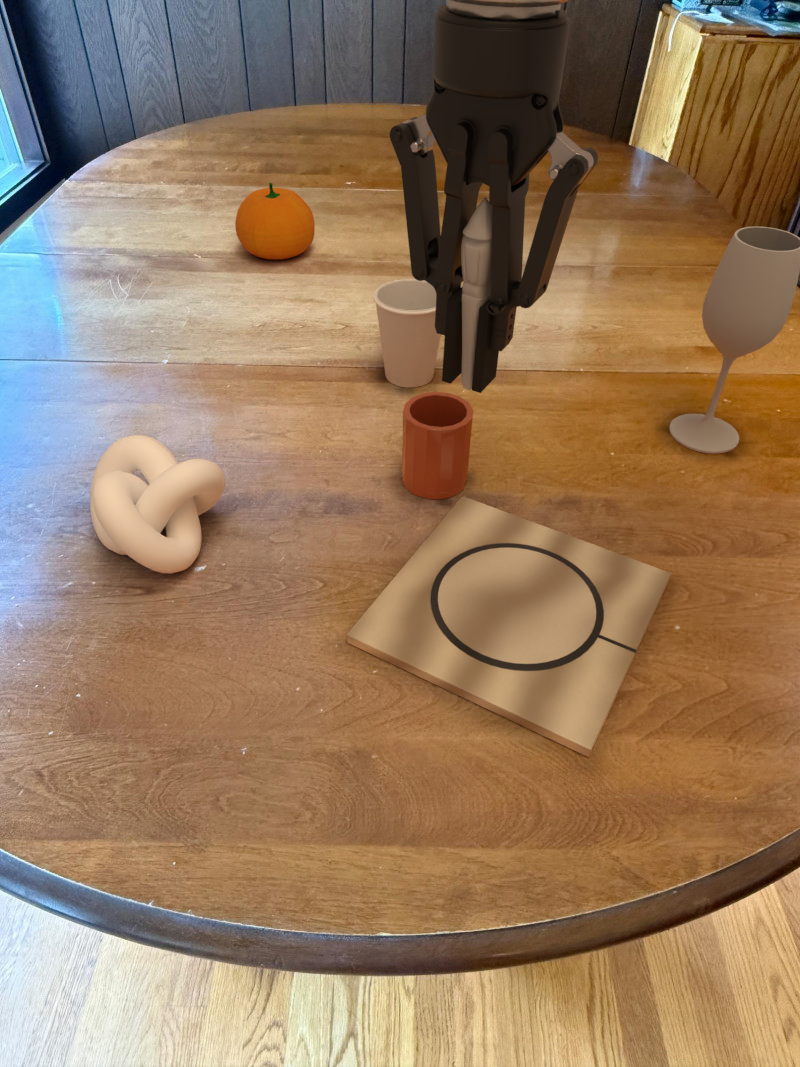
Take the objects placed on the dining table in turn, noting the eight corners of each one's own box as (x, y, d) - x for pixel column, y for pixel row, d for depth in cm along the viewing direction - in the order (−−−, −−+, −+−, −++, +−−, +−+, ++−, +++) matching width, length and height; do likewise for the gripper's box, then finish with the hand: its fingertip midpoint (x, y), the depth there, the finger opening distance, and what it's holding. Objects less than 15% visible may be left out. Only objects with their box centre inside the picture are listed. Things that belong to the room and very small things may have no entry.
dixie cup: (455, 366, 93) (460, 286, 86) (428, 400, 87) (432, 318, 80) (391, 351, 95) (392, 272, 89) (361, 383, 90) (360, 302, 83)
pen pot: (477, 472, 77) (484, 404, 72) (448, 507, 73) (453, 437, 68) (421, 452, 80) (424, 385, 74) (390, 485, 76) (390, 416, 70)
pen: (492, 386, 59) (513, 196, 50) (472, 401, 57) (489, 207, 48) (466, 375, 60) (481, 187, 51) (445, 389, 59) (457, 198, 49)
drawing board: (669, 581, 66) (672, 571, 66) (588, 758, 54) (591, 749, 53) (461, 503, 74) (462, 494, 73) (346, 642, 61) (346, 633, 60)
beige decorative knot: (205, 483, 75) (190, 404, 69) (257, 555, 68) (245, 474, 62) (88, 523, 71) (61, 442, 65) (131, 605, 63) (104, 523, 57)
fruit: (322, 263, 114) (318, 193, 108) (242, 270, 112) (233, 199, 106) (310, 233, 123) (305, 167, 116) (235, 239, 121) (226, 172, 114)
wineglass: (655, 435, 83) (710, 239, 69) (685, 406, 87) (744, 216, 73) (723, 463, 79) (796, 263, 65) (751, 431, 84) (826, 237, 69)
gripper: (655, 9, 42) (579, 383, 58) (417, -17, 48) (407, 333, 63) (612, 30, 37) (542, 432, 53) (352, -1, 43) (359, 374, 59)
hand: (469, 378), depth 58 cm, fingers closed on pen, 2 cm apart
